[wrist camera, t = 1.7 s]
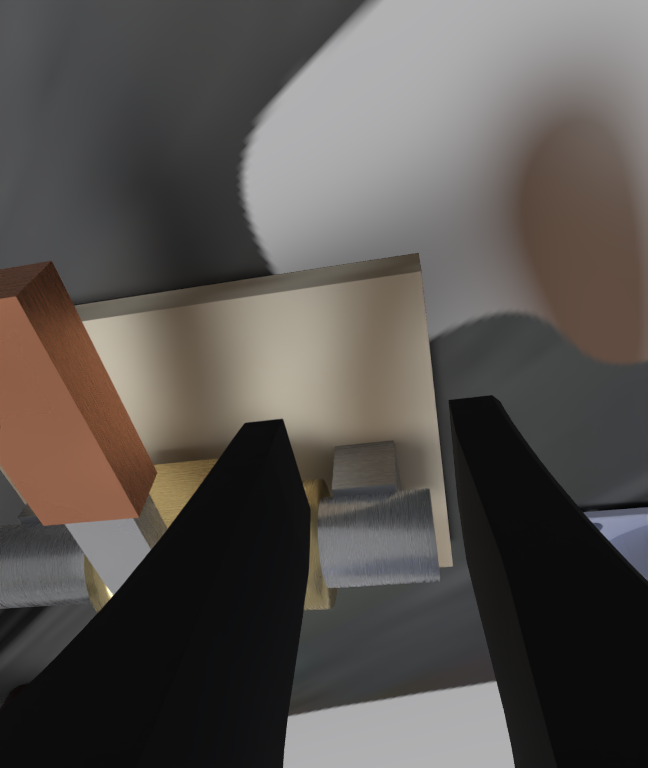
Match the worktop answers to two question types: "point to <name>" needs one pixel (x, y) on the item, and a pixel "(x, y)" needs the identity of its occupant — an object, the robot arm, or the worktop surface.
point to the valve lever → (70, 428)
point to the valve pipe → (327, 534)
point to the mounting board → (282, 368)
